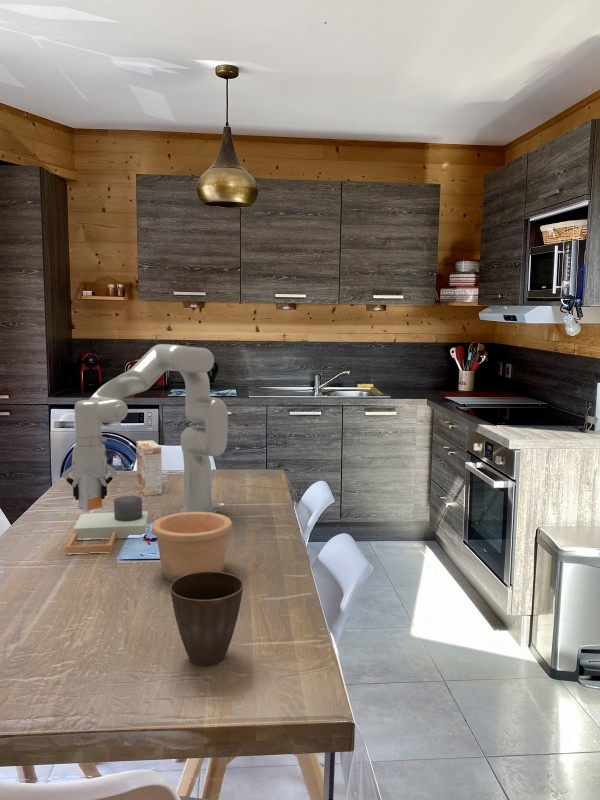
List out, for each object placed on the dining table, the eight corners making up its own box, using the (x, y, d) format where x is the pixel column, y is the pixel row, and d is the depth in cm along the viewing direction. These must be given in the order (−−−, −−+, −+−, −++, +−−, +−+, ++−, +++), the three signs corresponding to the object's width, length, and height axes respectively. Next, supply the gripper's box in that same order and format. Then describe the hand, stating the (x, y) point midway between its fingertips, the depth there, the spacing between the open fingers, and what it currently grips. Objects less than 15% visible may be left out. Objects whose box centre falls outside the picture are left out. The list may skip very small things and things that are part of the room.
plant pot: (245, 640, 152) (244, 570, 150) (241, 675, 137) (241, 599, 135) (177, 641, 151) (175, 571, 149) (166, 676, 136) (164, 600, 134)
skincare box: (86, 512, 206) (85, 473, 204) (78, 509, 208) (76, 471, 207) (103, 507, 211) (102, 469, 209) (94, 505, 213) (93, 467, 212)
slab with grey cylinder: (148, 522, 235) (147, 494, 234) (142, 551, 207) (141, 519, 206) (81, 525, 232) (80, 496, 231) (66, 555, 203) (65, 522, 202)
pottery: (155, 592, 177) (154, 538, 175) (150, 562, 198) (149, 514, 196) (238, 584, 183) (238, 532, 181) (225, 555, 204) (224, 508, 202)
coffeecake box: (136, 487, 281) (135, 441, 279) (154, 486, 284) (153, 439, 282) (144, 496, 268) (143, 447, 265) (162, 494, 271) (161, 446, 268)
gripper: (119, 438, 212) (121, 494, 214) (61, 439, 209) (63, 496, 212) (117, 442, 205) (118, 501, 207) (56, 444, 202) (58, 502, 204)
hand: (90, 498), depth 209 cm, fingers closed on skincare box, 7 cm apart
